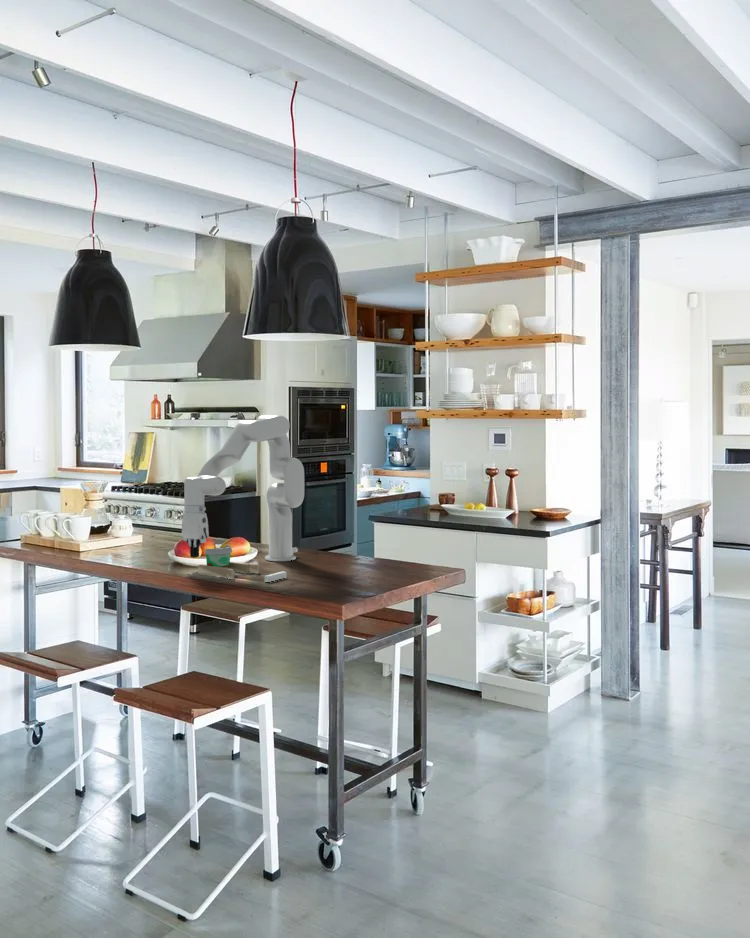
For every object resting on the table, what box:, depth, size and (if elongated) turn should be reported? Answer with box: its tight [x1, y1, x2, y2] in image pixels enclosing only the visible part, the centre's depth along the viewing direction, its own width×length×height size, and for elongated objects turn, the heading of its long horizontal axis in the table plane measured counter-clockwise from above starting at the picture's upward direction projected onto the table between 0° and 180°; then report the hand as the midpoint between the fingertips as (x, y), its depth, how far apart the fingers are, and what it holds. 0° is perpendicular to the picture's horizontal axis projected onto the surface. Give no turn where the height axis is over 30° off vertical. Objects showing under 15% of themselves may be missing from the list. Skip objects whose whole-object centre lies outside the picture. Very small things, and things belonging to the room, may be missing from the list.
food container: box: [204, 544, 233, 568], centre depth 341 cm, size 12×6×10 cm, turn 149°
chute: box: [197, 561, 260, 580], centre depth 340 cm, size 17×18×4 cm
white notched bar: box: [264, 571, 287, 583], centre depth 329 cm, size 11×2×2 cm, turn 149°
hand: (194, 556), depth 348 cm, fingers closed
